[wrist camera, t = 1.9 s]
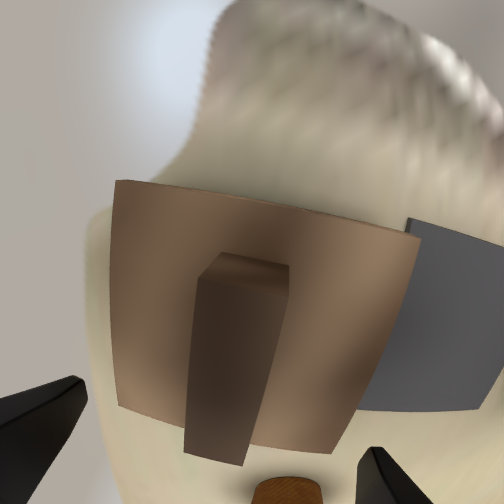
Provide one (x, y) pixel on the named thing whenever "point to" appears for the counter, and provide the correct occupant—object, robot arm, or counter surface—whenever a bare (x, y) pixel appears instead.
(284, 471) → the counter surface
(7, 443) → the robot arm
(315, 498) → the disposable coffee cup
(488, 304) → the mat
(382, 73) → the counter surface
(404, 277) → the cover
